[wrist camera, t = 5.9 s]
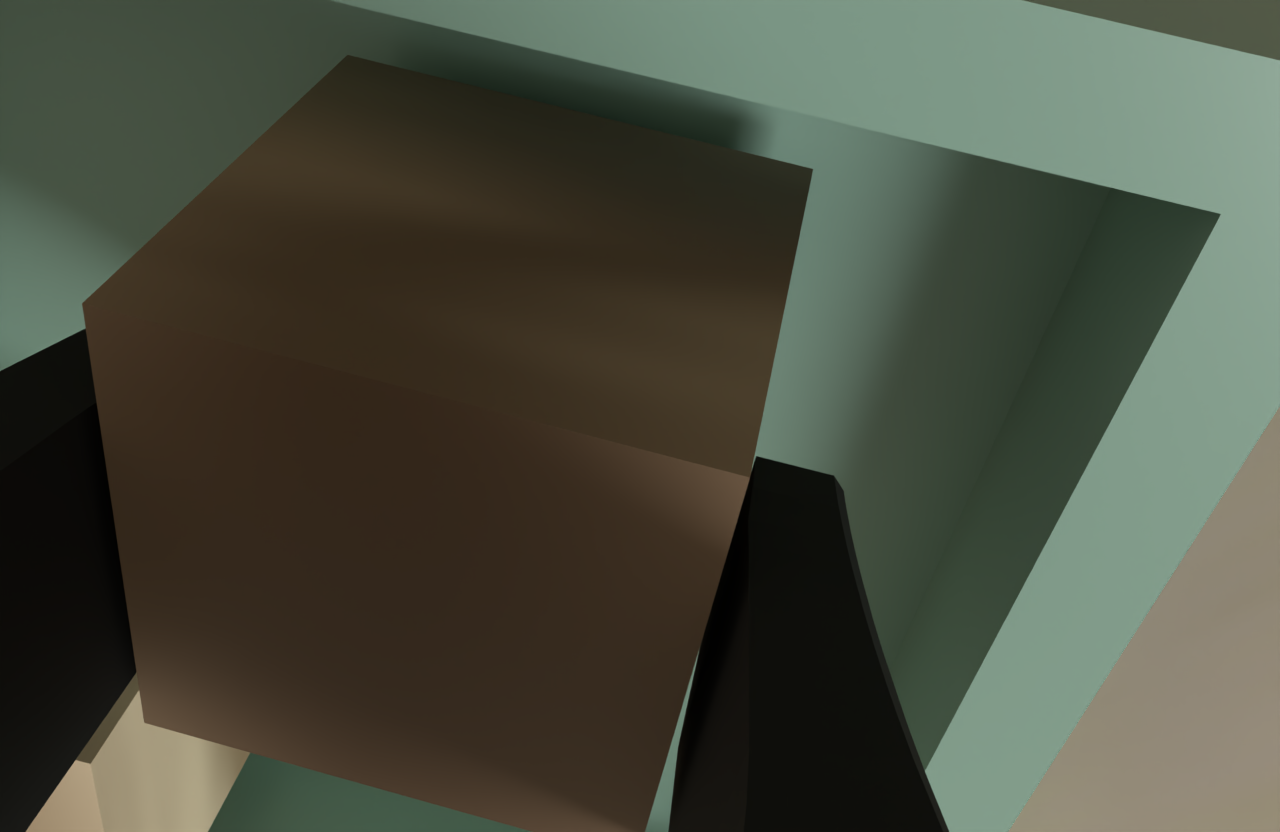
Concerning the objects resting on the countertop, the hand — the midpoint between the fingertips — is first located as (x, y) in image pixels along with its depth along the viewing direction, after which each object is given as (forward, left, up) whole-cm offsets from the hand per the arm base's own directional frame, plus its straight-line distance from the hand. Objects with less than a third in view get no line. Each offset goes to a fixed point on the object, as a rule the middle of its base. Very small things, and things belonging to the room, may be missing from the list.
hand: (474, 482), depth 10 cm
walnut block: (0, 0, -2) cm, 2 cm away
